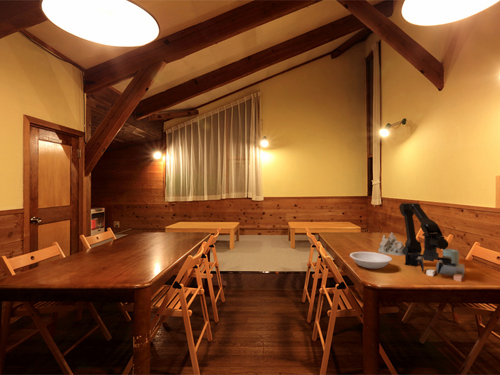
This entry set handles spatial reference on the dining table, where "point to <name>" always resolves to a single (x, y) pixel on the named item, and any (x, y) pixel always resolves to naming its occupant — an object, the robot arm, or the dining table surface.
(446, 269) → the box
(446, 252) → the cup
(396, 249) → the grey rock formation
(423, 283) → the dining table surface
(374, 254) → the soup bowl
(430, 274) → the white rectangular block
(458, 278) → the pink rectangular block
